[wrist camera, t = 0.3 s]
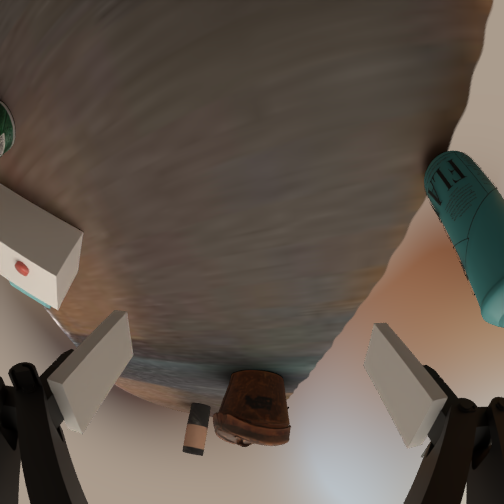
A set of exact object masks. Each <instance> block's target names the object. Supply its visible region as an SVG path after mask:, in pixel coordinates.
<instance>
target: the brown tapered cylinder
mask: <svg viewBox="0 0 504 504" xmlns="http://www.w3.org/2000/svg"><path fill="white" fill-rule="evenodd" d="M288 408H289V407H287V402H286V395H285V387H284V380H283V378H282V377H281V376H279V375H277V374H275V373H271V372H267V371H260V370H245V371H239V372H236V373H233V374H232V375H231V378H230V382H229V385H228V388H227V391H226V393H225V396H224V398H223V401H222V404H221V407H220V409H219V412H218V413H215V414H214V415H213V424H214V428H215V433H216V435H217V436H218V437H219V438H221V439H222V440H224V441H226V442H229V443H232V444H238V445H240V446H242V447H247V446H249V445H251V444H254V443H255V444H259V445H266V446H267V445H268V446H277V445H282V444H285V443H287V442H288V441H289V435H290V427H291V426H290V425H289V418H288V410H287V409H288Z"/></svg>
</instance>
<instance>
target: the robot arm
mask: <svg viewBox="0 0 504 504" xmlns="http://www.w3.org/2000/svg"><path fill="white" fill-rule="evenodd" d="M132 356H133V350H132V344H131V337H130V330H129V323H128V315H127V312H125V311H118V310H114V311H113V312H112V313H111V314H110V315H109V316H108V317H107V318H106V319H105V320H104V321H103V322H102V323H101V324H100V325H99V326H98V327H97V328H96V329H95V330H94V331H93V332H92V333H91V334H90V335H89V336H88V337H87V338H86V339H85V340H84V341H83V342H82V343H81V344H80V345H79V346H78V347H77V348H76V349H75V350H73V349H70V350H68V351H66V352H64V353H63V354H61V355H60V356H59V357H58V359H57V361H54V362H53V364H52V365H51V366H50V367H49V368H48V369H47V370H46V371H45V372H44V373H43V374H42V375H41V376H40V377H39V376H38V373H37V370H36V368H35V366H34V365H33V364H31V363H27V362H23V363H19V364H16V365H14V366H13V367H12V368H11V369H10V370H9V373H8V374H9V377H10V379H11V381H12V383H13V386H14V387H12V386H5V384H4V381H3V379H2V377H0V504H18V492H19V474H20V463H21V462H22V468H23V473H24V478H25V483H26V487H27V492H28V495H29V500H30V503H31V504H88V502H87V500H86V498H85V496H84V493H83V490H82V488H81V485H80V483H79V481H78V478H77V475H76V472H75V469H74V467H73V464H72V461H71V458H70V454H69V451H68V448H67V445H66V441H65V438H64V434H63V430H62V428H61V426H60V424H61V423H62V422H63V420H64V421H65V423H66V425H67V427H68V429H70V430H73V431H75V432H78V433H81V434H83V433H84V431H85V430H86V428H87V426H88V425H89V423H90V422H91V420H92V418H93V417H94V415H95V414H96V412H97V410H98V409H99V407H100V406H101V404H102V402H103V401H104V399H105V397H106V396H107V395H108V393H109V391H110V390H111V388H112V387H113V385H114V384H115V382H116V380H117V379H118V377H119V376H120V374H121V373H122V371H123V370H124V368H125V367H126V365H127V364H128V362H129V361H130V359H131V358H132ZM364 367H365V369H366V371H367V373H368V375H369V377H370V378H371V380H372V382H373V384H374V386H375V387H376V389H377V391H378V393H379V395H380V397H381V399H382V401H383V402H384V404H385V406H386V408H387V410H388V412H389V414H390V416H391V418H392V420H393V422H394V424H395V426H396V427H397V429H398V431H399V433H400V435H401V437H402V439H403V441H404V443H405V445H406V447H407V448H411V447H415V446H418V445H422V443H423V442H424V440H425V438H426V437H427V435H428V437H429V438H430V440H431V442H430V443H429V445H428V446H427V448H426V449H425V451H424V453H423V454H422V456H421V457H423V456H424V458H423V460H422V463H421V465H420V468H419V470H418V473H417V475H416V477H415V480H414V482H413V485H412V487H411V489H410V491H409V493H408V495H407V497H406V499H405V502H404V504H460V503H461V500H462V497H463V493H464V489H465V485H466V481H467V502H466V503H467V504H504V398H502V397H495V398H493V399H492V401H491V403H490V404H489V406H488V407H477V406H476V404H475V403H474V402H472V401H471V400H469V399H466V398H457V396H456V395H455V394H454V393H453V391H452V390H451V389H450V388H449V387H448V385H447V384H446V383H444V381H443V379H442V378H440V376H439V375H438V373H437V372H436V371H435V370H434V369H432V368H431V367H429V366H427V365H422V364H421V363H420V362H419V361H418V360H417V358H416V357H415V356H414V355H413V354H412V352H411V351H410V350H409V349H408V348H407V347H406V345H405V344H404V343H403V342H402V341H401V339H400V338H399V337H398V336H397V335H396V334H395V333H394V331H393V330H392V329H391V328H390V327H389V326H388V324H387V323H374V326H373V330H372V334H371V339H370V343H369V347H368V351H367V354H366V358H365V362H364Z"/></svg>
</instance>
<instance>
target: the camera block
mask: <svg viewBox="0 0 504 504" xmlns="http://www.w3.org/2000/svg"><path fill="white" fill-rule="evenodd" d="M82 238H83V232H82V231H80V230H79V229H77V228H75V227H73V226H71V225H70V224H68V223H66V222H64V221H62V220H61V219H59V218H57V217H55V216H54V215H52V214H50V213H48V212H47V211H45V210H43V209H42V208H40V207H38V206H36V205H35V204H33V203H31V202H30V201H28V200H26V199H25V198H23V197H21V196H20V195H18V194H16V193H15V192H13V191H12V190H10V189H8V188H7V187H5V186H4V185H2V184H0V275H2V276H3V277H5V278H6V279H8V280H9V281H11V282H12V283H14V284H15V285H17V286H18V287H20V288H22V289H23V290H25V291H26V292H28V293H30V294H31V295H33V296H34V297H36V298H38V299H39V300H41V301H43V302H44V303H46V304H48V305H50V306H51V307H53V308H55V309H57V310H58V309H59V307H60V305H61V303H62V301H63V299H64V297H65V295H66V293H67V291H68V289H69V287H70V285H71V284H72V282H73V280H74V278H75V276H76V274H77V273H78V268H79V259H80V252H81V245H82Z"/></svg>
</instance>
